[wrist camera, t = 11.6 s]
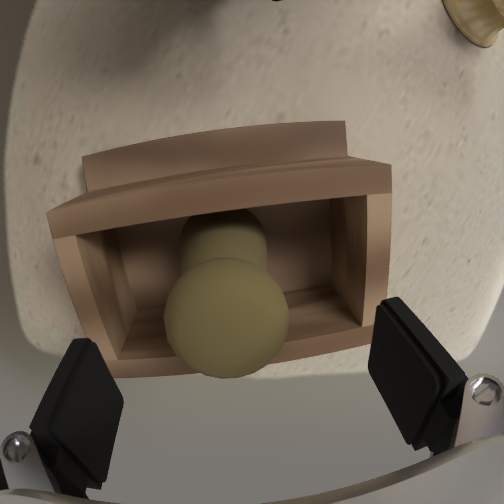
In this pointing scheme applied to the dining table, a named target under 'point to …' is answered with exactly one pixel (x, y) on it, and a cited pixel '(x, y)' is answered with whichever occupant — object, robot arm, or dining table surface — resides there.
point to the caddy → (222, 199)
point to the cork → (225, 297)
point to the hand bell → (477, 19)
